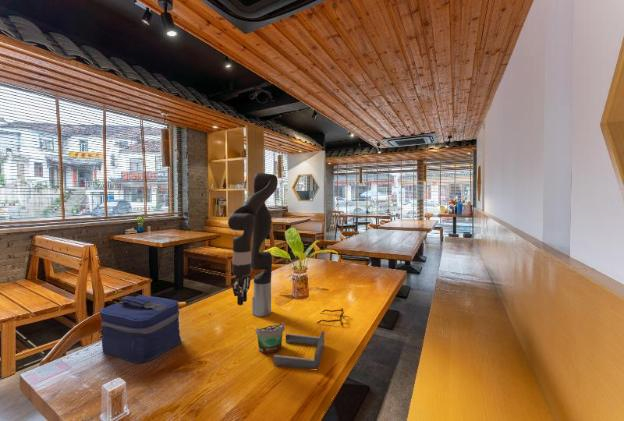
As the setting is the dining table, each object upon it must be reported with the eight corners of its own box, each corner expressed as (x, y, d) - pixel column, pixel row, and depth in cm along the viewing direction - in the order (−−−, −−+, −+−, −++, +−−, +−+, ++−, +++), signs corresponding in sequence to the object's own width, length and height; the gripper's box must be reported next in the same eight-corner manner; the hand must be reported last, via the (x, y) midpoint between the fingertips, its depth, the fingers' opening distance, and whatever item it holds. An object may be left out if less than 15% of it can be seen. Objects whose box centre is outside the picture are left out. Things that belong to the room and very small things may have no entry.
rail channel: (273, 365, 104) (273, 349, 103) (286, 341, 121) (286, 327, 120) (317, 370, 101) (317, 354, 100) (324, 345, 118) (324, 331, 117)
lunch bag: (89, 350, 113) (87, 301, 111) (137, 327, 132) (136, 285, 131) (145, 367, 102) (143, 313, 101) (188, 339, 122) (187, 294, 121)
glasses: (341, 327, 135) (342, 317, 135) (315, 324, 138) (315, 315, 137) (344, 316, 148) (344, 306, 148) (320, 313, 150) (320, 304, 150)
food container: (259, 359, 107) (259, 334, 107) (255, 351, 113) (255, 327, 112) (289, 351, 113) (289, 327, 112) (283, 344, 118) (283, 321, 118)
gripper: (240, 257, 121) (241, 296, 122) (225, 265, 107) (225, 309, 108) (257, 258, 120) (257, 297, 120) (243, 266, 106) (243, 310, 107)
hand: (242, 302), depth 114 cm, fingers open, 3 cm apart
